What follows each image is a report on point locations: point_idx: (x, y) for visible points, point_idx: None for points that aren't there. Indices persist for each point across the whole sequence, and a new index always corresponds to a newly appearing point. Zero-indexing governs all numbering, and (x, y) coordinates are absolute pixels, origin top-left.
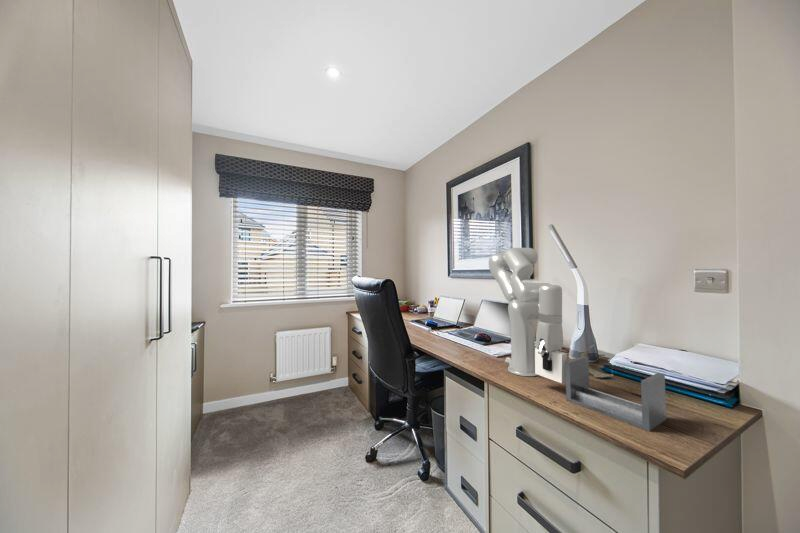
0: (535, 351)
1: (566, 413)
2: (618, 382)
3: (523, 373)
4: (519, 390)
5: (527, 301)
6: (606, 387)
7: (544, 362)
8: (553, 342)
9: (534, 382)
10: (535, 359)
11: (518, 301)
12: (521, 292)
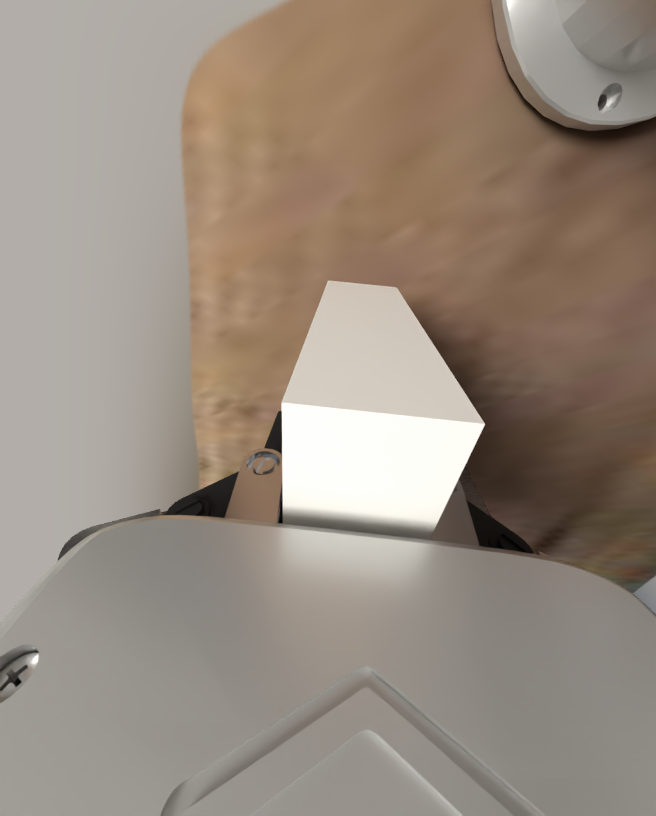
0: (300, 365)
1: (203, 466)
2: None
3: (510, 17)
4: (201, 229)
5: None
6: (580, 475)
7: (268, 444)
8: None
9: (412, 212)
10: (315, 320)
11: None
12: None
